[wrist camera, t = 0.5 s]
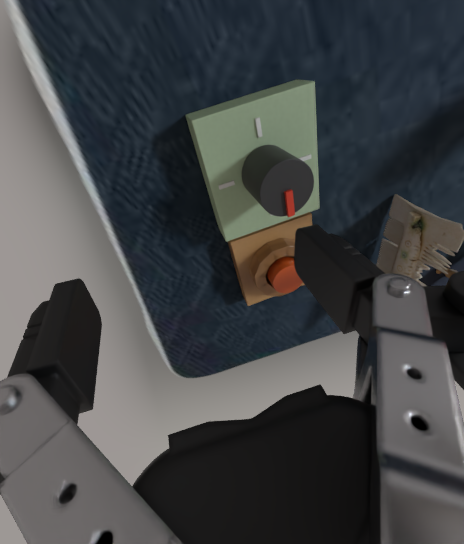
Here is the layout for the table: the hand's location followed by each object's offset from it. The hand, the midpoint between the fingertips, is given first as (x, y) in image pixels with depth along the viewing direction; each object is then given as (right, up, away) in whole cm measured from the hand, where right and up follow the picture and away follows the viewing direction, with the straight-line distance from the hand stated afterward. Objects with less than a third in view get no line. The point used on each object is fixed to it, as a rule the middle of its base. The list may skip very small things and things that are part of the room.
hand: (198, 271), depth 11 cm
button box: (+6, +2, +23) cm, 24 cm away
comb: (+21, +4, +28) cm, 35 cm away
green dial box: (+3, +10, +17) cm, 20 cm away
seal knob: (+4, +9, +14) cm, 17 cm away
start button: (+7, 0, +21) cm, 22 cm away
